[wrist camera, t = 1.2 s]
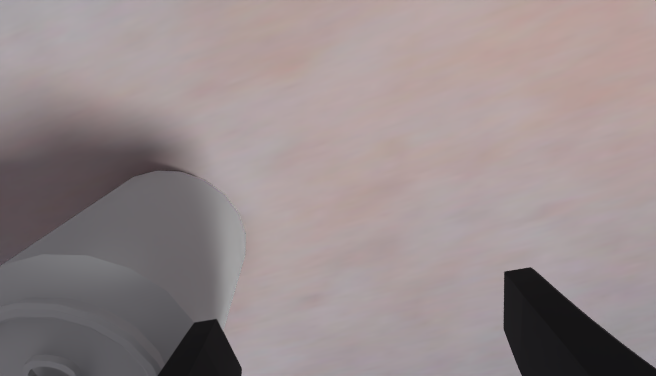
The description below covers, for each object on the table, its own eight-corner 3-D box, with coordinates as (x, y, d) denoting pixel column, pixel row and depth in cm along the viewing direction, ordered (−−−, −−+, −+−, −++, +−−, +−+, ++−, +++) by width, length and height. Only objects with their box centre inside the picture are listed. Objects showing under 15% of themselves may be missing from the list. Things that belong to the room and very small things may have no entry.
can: (98, 285, 23) (-108, 510, 11) (109, 152, 21) (-126, 260, 9) (236, 307, 24) (176, 535, 12) (259, 181, 22) (213, 312, 10)
